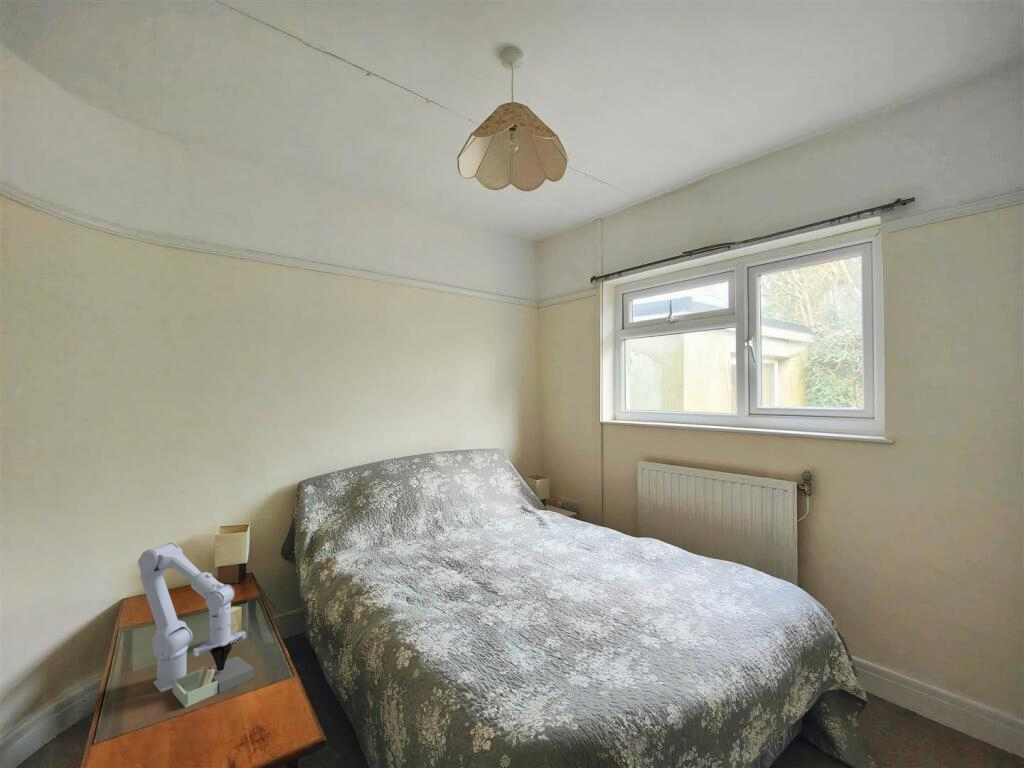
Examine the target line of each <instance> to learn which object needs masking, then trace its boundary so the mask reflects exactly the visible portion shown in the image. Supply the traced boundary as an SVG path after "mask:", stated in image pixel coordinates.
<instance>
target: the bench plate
mask: <svg viewBox="0 0 1024 768" xmlns="http://www.w3.org/2000/svg"><path fill="white" fill-rule="evenodd" d="M210 667H211V668H212V669H214V670H215V672H214V675H213V679H212V682H215V681H218V693H217V694H222V693H223V692H226V691H229V690H230V689H233V688H235V687H237V686H240V685H242V684H244V683H247V682H250V680H253V679H255V668H254V667H253V666H251V664H249V663H248V662H246V661H244V660H243V658H241V657H239V655H237V656H234V657H232V658H229V659H226V662H225V666H224V670H221V671H218V670H217V667H216V664H213V665H211V666H210ZM212 682H211V683H212Z"/></svg>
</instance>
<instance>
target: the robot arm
mask: <svg viewBox="0 0 1024 768" xmlns="http://www.w3.org/2000/svg"><path fill="white" fill-rule="evenodd" d="M137 564H138V566H139V571H140V581H141V584H142V586H143V590H144V592H145V595H146V599H147V603H148V604H149V608H150V611H151V614H152V617H153V621H154V623H155V626H156V629H157V630H156V631H155V633H154V635H153V637H152V640H151V641H152V646H153V647H152V653H153V656H154V657H155V658H156V659H157V665H156V680H154V681H153V683H152V684H154V686H155V687H156V688H157V689H158V691H159V692H160V693H164V692H165V691H169V690H172V680H175V679H178V678H180V677H183V676H185V675H187V662H188V661H187V658H188V655H187V651H188V649H189V645H190V644H191V643H192V641H193V632H192V630H191V629H190V628H189V627H188V626H187V623H186V622H185V621H183V620H179V619H178V616H177V613H176V610H175V607H174V605H173V601H172V599H171V596H170V593H169V589H168V587H167V583H166V581H165V578H164V574H165V573H166V570H167V569H173V570H174V571H176V572H177V573H179V574H180V575H182V576H183V577H184V578H186V579H188V580H189V581H190V583H191V584H190V586H191V588H192V589H193V590H194V591H195V592H196V593H197V594H198V595H200V596H201V597H202V598H204V599H205V601H204V602H205V606H206V607H207V610H208V614H209V617H210V618H209V641H207V642H204V643H203V644H201V645H199V646H197V647H195V648H193V649H192V650H193V651H192V653H193V654H192V655H193V656H194V657H198V656H199V655H201V654H203V653H207V652H210V654H211V656H212V658H213V660H214V662H215V665H216V667H217V670H218V671H221V670H224V666H225V662H226V660H228V659H227V658H228V657H229V654H230V652H231V650H232V647H233V644H232V645H231V644H230V643H231V642H234V641H237V640H239V639H241V640H244V639H246V637H247V632H246V631H244V630H241V632H237V633H233V634H231V607H232V605H231V604H232V601H233V600H234V598H235V596H236V593H235V592H236V591H235V589H234V587H233V586H232V585H231V584H224V583H222V582H220V581H218V580H217V579H216V578H215V577H214V576H213V574H212V573H211V572H207V571H206V572H205V571H204V572H201V571H200V570H199V569H198V568H197V566H195V565H194V564H193V563H192V562H191V560H190V559H188V558H187V557H186V555H185V554H184V552H183V549H182V548H181V547H180V546H179V545H178V544H177V543H175V542H168V543H166V544H162V545H160V546H156V547H154V548H151V549H146V550H145V551H143V552H142V553H141V555H140V556H139V558H138V560H137ZM239 641H240V640H239ZM237 642H238V641H237Z"/></svg>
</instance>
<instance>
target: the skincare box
mask: <svg viewBox="0 0 1024 768" xmlns="http://www.w3.org/2000/svg"><path fill="white" fill-rule="evenodd" d="M242 611H243V610H242V606H231V634H233V633H237V632H241V631H242V615H243V614H242ZM231 643H232V642H231ZM231 643H230V644H231Z"/></svg>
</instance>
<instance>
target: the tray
mask: <svg viewBox="0 0 1024 768" xmlns="http://www.w3.org/2000/svg"><path fill="white" fill-rule="evenodd" d="M201 670H202V668H201V669H198V670H196V671H193V672H191V673H188V674H186V675H185V676H183V677H180V678H178V679H175V680H172V688H171V690H172V694H173V695H174V696H175V697H176V699H177V700H178V701H179V702H180V703H181V704H182V706H183V707H184V708H188V707H190V706H193V705H194V704H196V703H199V702H201V701H204V700H206V699H208V698H210V697H212V696H215V695H218V694H219V693H218V681H215V682H212V683H210V684H208V685H205V686H203V687H201V688H200V687H199V686H198V685H197V682H198V679H199V676H200V673H201Z"/></svg>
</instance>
